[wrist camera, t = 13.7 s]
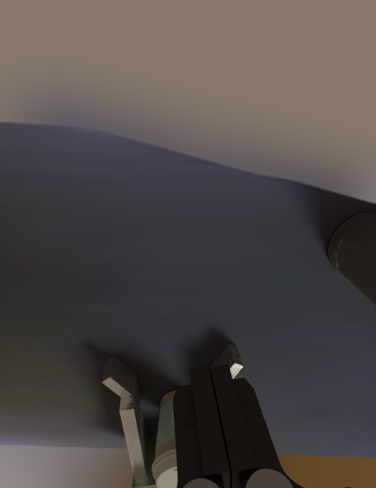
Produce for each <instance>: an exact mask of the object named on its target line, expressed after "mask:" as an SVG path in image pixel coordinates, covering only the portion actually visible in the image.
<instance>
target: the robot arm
mask: <svg viewBox="0 0 376 488" xmlns="http://www.w3.org/2000/svg"><path fill="white" fill-rule="evenodd" d="M328 257H329V260H330V262H331V264H332V265H333V266H334V267H335V268H336V269H337V270H338V271H339V272H340V273H341V274H342V275H343V276H345V277H346V278H347V279H348V280H349V281H350V282H351V283H352V284H353V285H354V286H355V287H356V288H357V289H358V290H359V291H361V292H362V293H363V294H364V295H365V296H366V297H367V298H368V299H369V300H370V301H371V302H372V303H374V304H375V305H376V213H374V212H366V213H361V214H357V215H355V216H353V217H351V218H349V219H348V220H346V221H345V222H343V223H342V224H341V225H340V226H339V227H338V228H337V230H336V231H335V232H334V234H333V235H332V237H331V239H330V242H329V246H328ZM209 371H210V372H209ZM190 380H191V385H186V386H179V387H177V390H176V392H175V395H174V398H173V412H174V427H175V444H176V460H177V488H304V487H302V486H300V485H298V484H297V483H295V482H294V481H292V480H291V479H290V478H289V477H288V476H287V474H286V473H285V472H284V470H283V469H282V467H281V465H280V462H279V460H278V457H277V454H276V451H275V448H274V445H273V442H272V440H271V437H270V434H269V431H268V428H267V425H266V422H265V419H264V417H263V414H262V411H261V408H260V406H259V402H258V399H257V396H256V393H255V390H254V388H253V387H252V386H251V385H250V384H249V383H248V381H247V380H246V379H245V378H239V379H233V378H232V374H231V371H230V367H229V365H221V366H213V367H210V368H208V367H206V368H198V369H190ZM345 488H347V487H345ZM348 488H349V487H348Z"/></svg>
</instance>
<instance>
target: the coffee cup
mask: <svg viewBox="0 0 376 488" xmlns="http://www.w3.org/2000/svg"><path fill="white" fill-rule="evenodd" d="M175 392H176V390H175V391H171V392H169V393H167V394H166V395H164V396H163V398H162V399H161V403H160V412H159V422H158V432H157V442H156V452H155V461H154V462H153V465H152V472H153V477H154V479H155V482H156V486H157V488H177V460H176V444H175V427H174V412H173V398H174V395H175Z"/></svg>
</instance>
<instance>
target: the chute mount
mask: <svg viewBox="0 0 376 488" xmlns="http://www.w3.org/2000/svg"><path fill="white" fill-rule="evenodd" d="M221 365H229V367H230V371H231V374H232V378H234V377H235V376H236V375H237V373H238V372H239V371H240V370H241V368H242V367H243V364H242V361H241V358H240V355H239V352H238V349H237V346H235V345H232V344H230V343H228V345H227V346H226V347H225V349H224V350H223V351H222V353H221V354H220V355H219V357H218V358H217V359H216V361H215V362H214V363H213V366H221ZM213 366H211V367H213ZM102 383H103V384H105V385H106V386H107V387H108V388H110V389H111V390H112V391H113V392H115V393H116V394H117V395H119V396H120V397H121V401H120V410H119V411H120V416H121V420H122V425H123V429H124V434H125V439H126V443H127V448H128V452H129V456H130V461H131V466H132V471H133V486H132V488H157V486H156V482H155V479H154V477H153V472H152V465H153V462H154V461H155V452H156V442H157V434H153V435H146V430H145V424H144V418H143V412H142V406H141V400H140V394H139V388H138V382H137V376H136V374H134V373H133V372H132V371H131V370H130V369H129V368H127V367H126V366H125V365H124V364H123V363H122V362H120V361H119V360H118V359H117V358H116V357H115V356H112V357H110V358H109V359H107V360H106V362H105V368H104V373H103V378H102Z"/></svg>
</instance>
